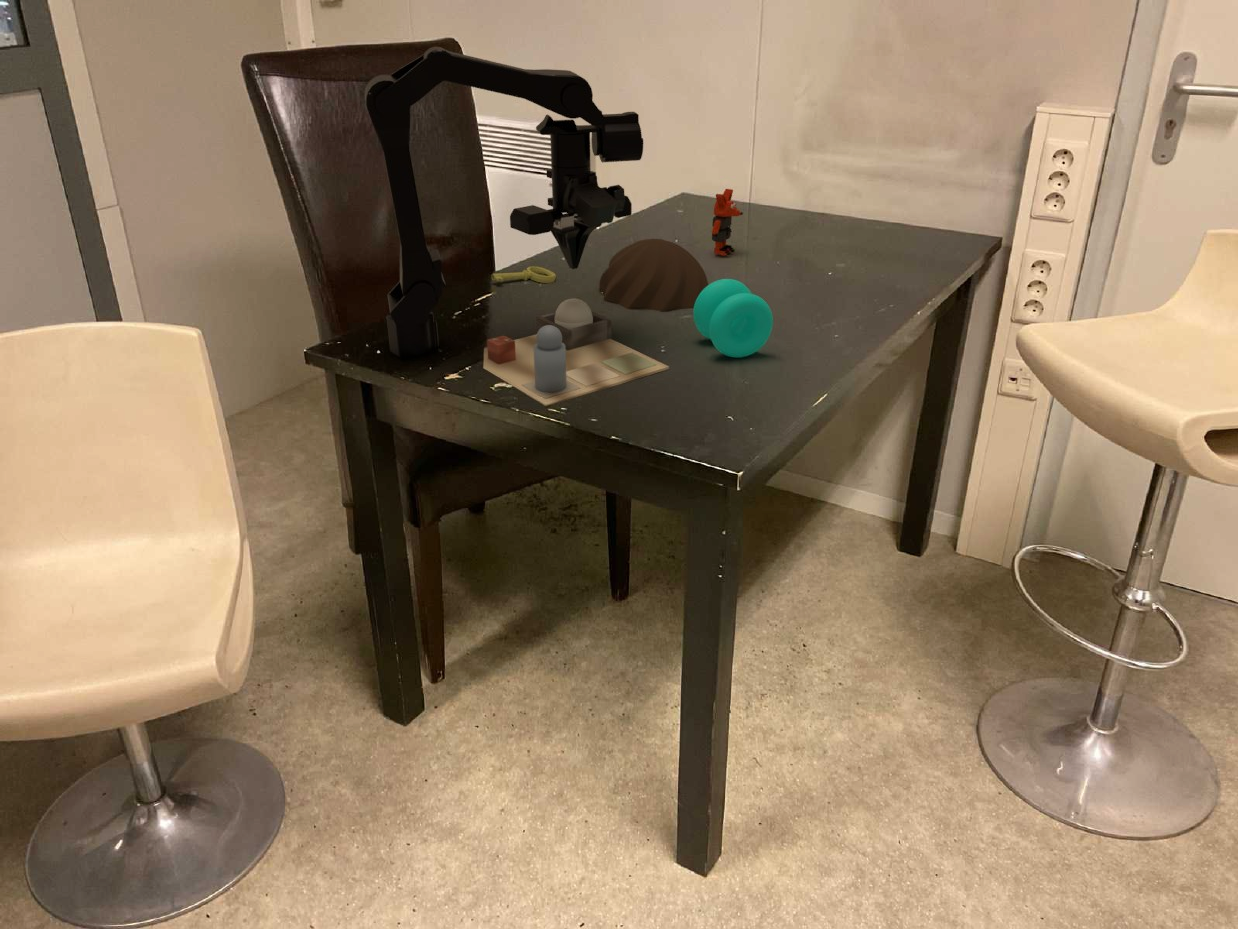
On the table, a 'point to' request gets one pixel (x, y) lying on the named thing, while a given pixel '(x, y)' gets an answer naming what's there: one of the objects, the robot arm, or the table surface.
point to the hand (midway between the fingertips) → (573, 268)
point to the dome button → (573, 314)
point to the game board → (570, 360)
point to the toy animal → (723, 222)
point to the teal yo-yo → (733, 318)
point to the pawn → (550, 360)
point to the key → (527, 275)
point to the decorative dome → (653, 277)
